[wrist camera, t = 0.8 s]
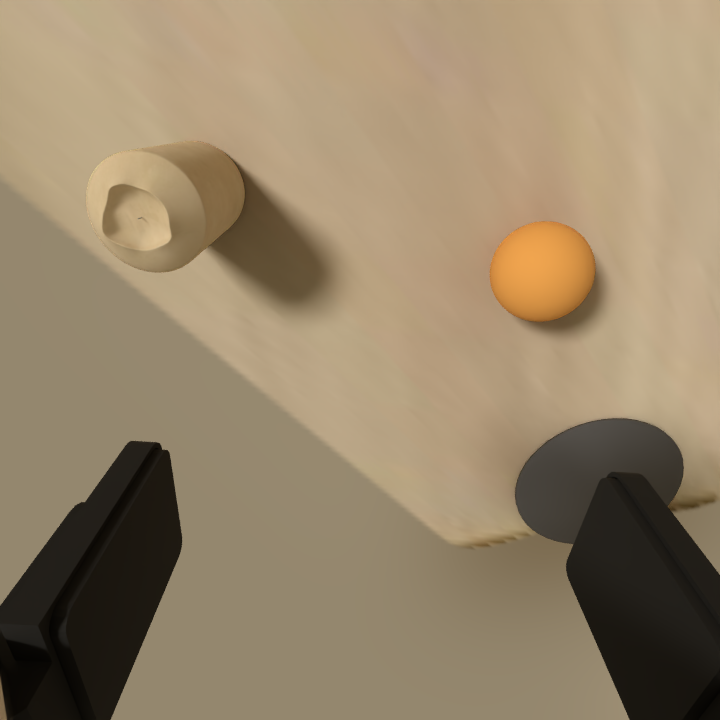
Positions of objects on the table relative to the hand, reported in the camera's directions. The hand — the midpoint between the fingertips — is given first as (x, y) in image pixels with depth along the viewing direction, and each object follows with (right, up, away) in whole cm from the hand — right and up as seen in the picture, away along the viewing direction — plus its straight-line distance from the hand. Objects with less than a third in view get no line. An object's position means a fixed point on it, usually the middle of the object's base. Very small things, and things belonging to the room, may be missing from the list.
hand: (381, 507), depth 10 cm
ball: (+11, +9, +18) cm, 23 cm away
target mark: (+20, -8, +30) cm, 37 cm away
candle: (-10, +14, +19) cm, 26 cm away
